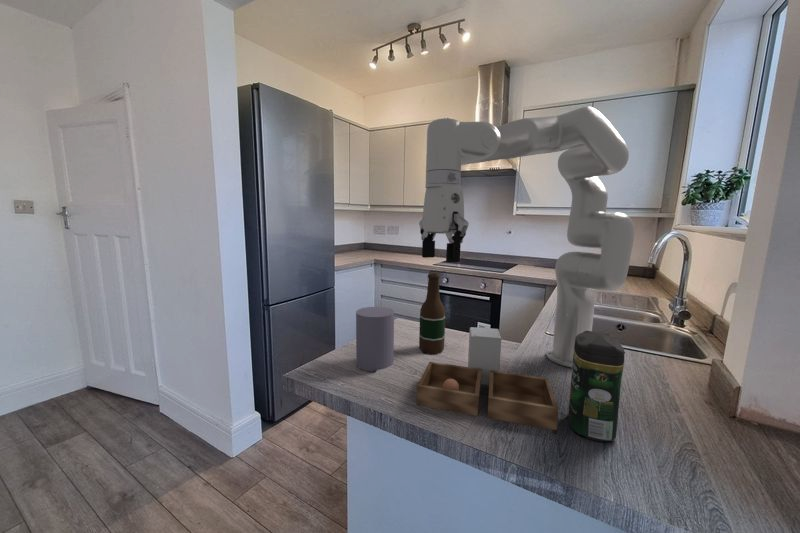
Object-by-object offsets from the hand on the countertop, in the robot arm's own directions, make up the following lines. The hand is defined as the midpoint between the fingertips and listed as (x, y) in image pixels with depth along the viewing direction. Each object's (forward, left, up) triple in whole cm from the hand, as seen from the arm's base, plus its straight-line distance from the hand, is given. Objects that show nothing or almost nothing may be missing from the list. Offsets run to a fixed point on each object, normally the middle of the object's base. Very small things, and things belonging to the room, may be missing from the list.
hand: (439, 259), depth 72 cm
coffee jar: (-31, +5, -31) cm, 44 cm away
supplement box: (-10, -8, -31) cm, 34 cm away
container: (+19, -8, -31) cm, 37 cm away
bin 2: (-18, +3, -31) cm, 36 cm away
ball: (-4, +3, -30) cm, 30 cm away
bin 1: (-4, +3, -31) cm, 31 cm away
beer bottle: (+6, -23, -31) cm, 39 cm away
